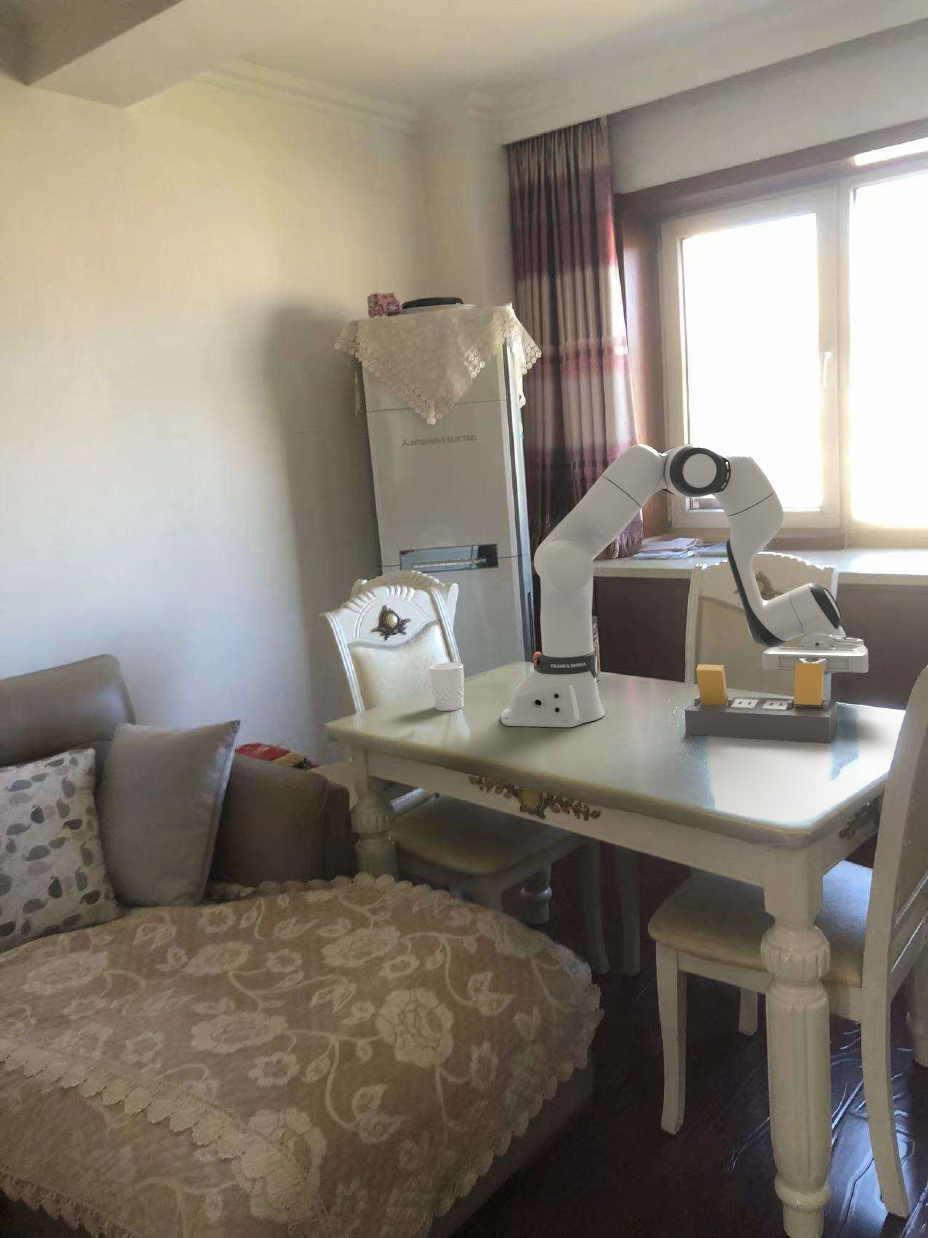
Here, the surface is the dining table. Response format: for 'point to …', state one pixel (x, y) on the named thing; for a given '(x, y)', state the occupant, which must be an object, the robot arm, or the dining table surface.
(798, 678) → the switch
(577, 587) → the robot arm
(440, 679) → the white cup
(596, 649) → the coffee box
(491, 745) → the dining table surface
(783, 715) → the power box
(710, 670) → the switch
